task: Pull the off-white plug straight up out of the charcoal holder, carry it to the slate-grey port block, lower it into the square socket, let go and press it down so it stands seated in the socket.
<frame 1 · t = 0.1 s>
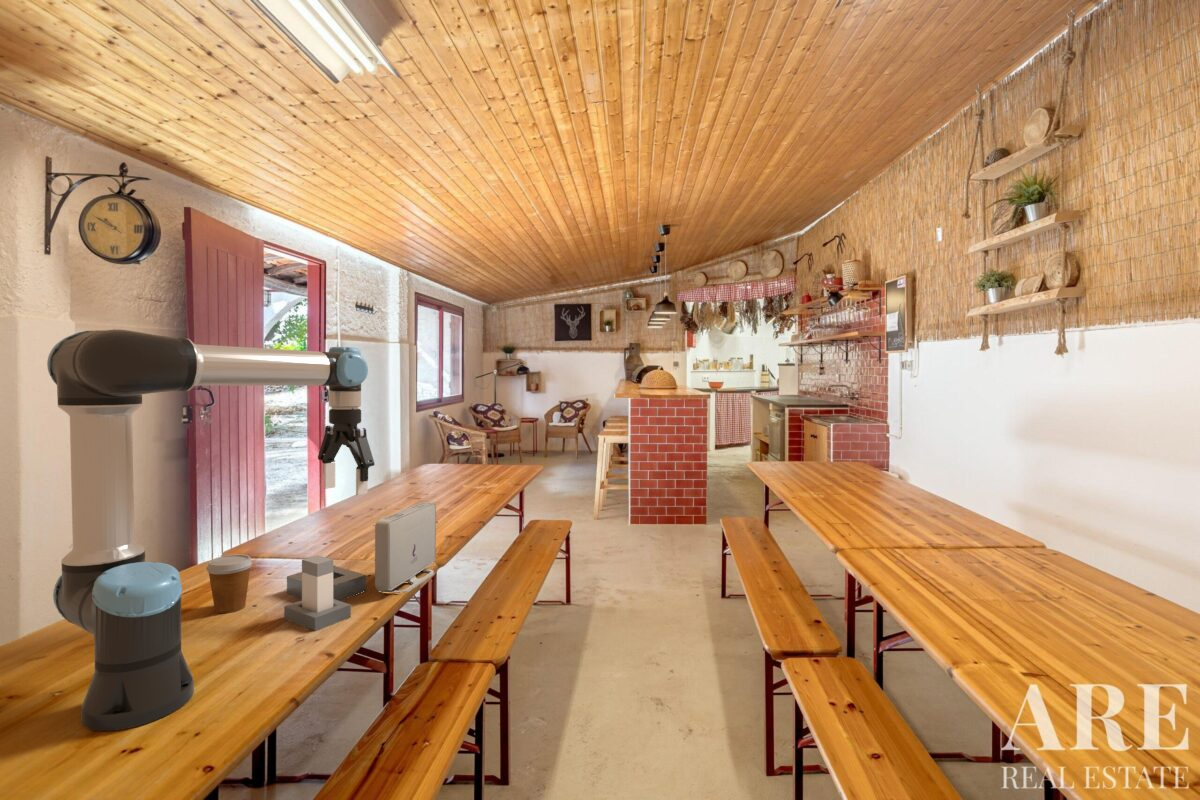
hand: (345, 491, 147), 28 cm above the table, tool pointing down, fingers open, 13 cm apart
holder: (317, 618, 136), on the table
disposable coffee cup: (230, 609, 141), on the table
port block: (326, 592, 152), on the table
network device: (406, 582, 161), on the table
plug: (317, 588, 136), in the holder
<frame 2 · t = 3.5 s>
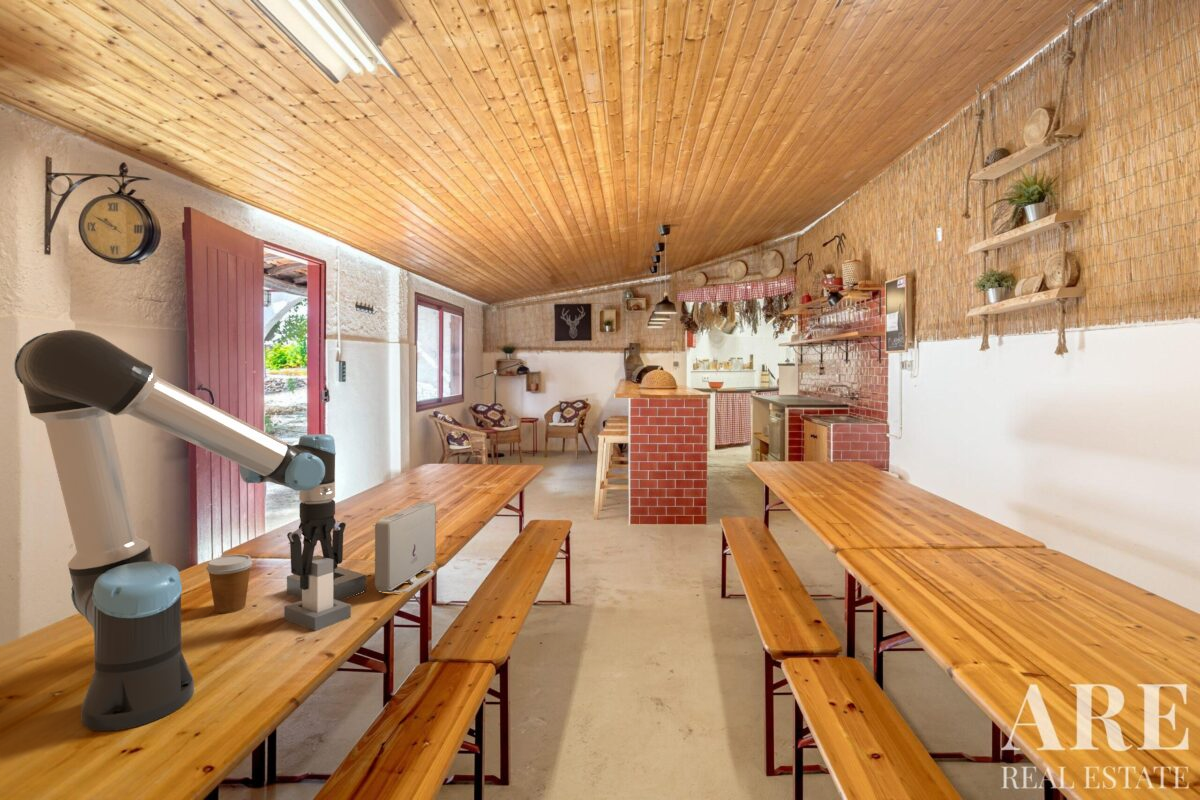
hand: (317, 598, 136), 5 cm above the table, tool pointing down, fingers closed on plug, 4 cm apart
plug: (317, 588, 136), in the holder, touching gripper
everything else where it was.
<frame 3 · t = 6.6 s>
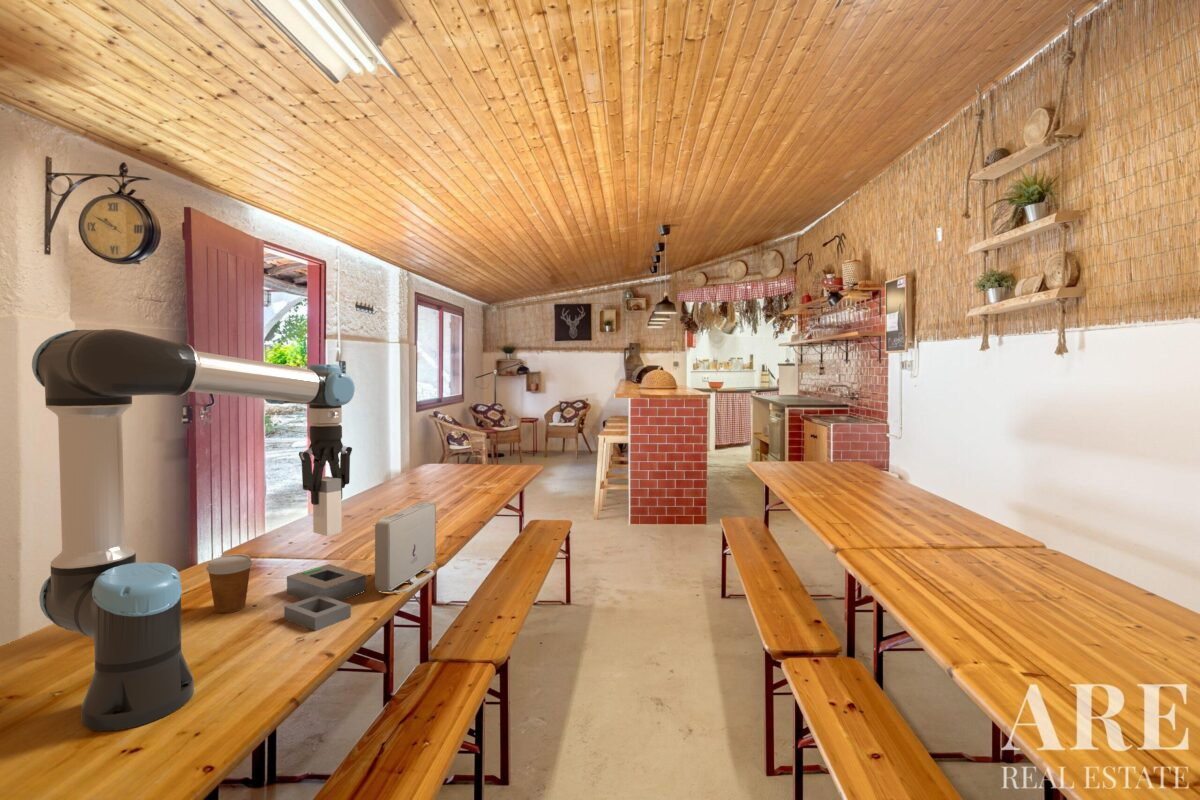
hand: (327, 514, 149), 21 cm above the table, tool pointing down, fingers closed on plug, 4 cm apart
plug: (327, 505, 148), point 24 cm above the table, touching gripper
everything else where it was.
when the fingers open (8 cm above the table, at t = 9.6 s): plug drops 3 cm, resting in port block.
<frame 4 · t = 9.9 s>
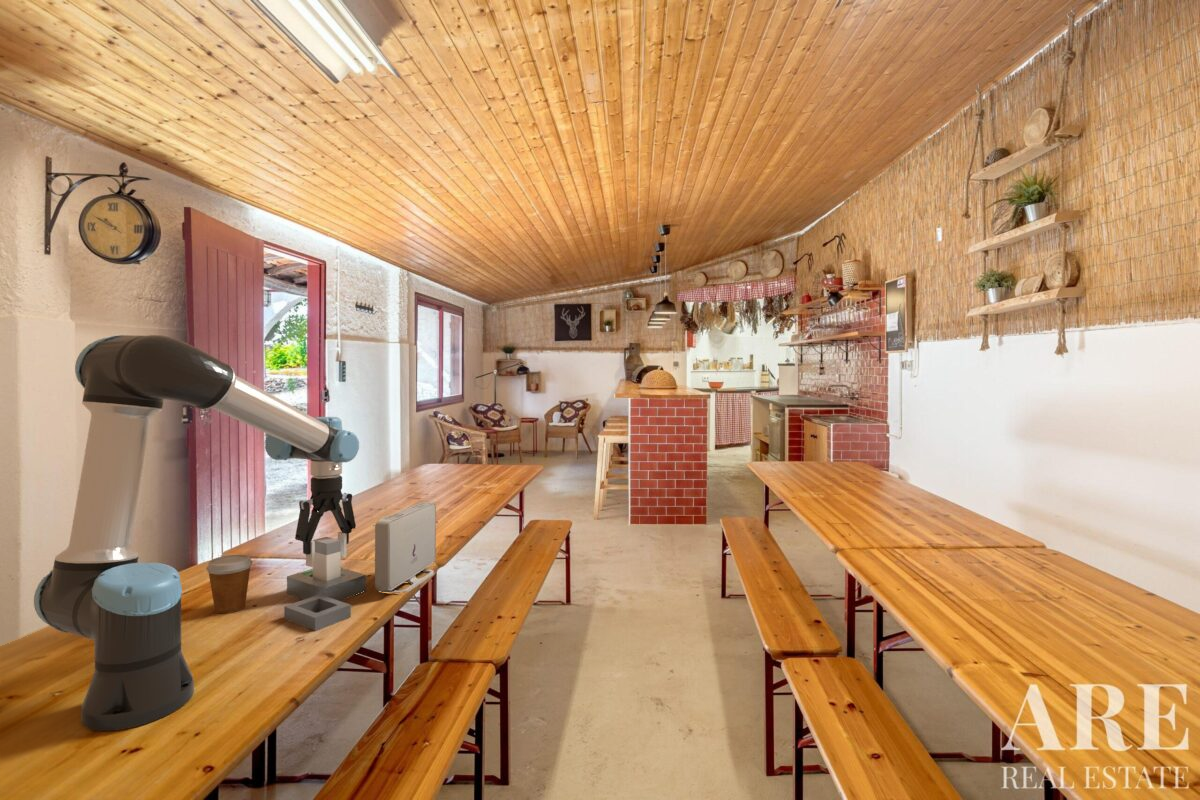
hand: (326, 561, 152), 8 cm above the table, tool pointing down, fingers open, 8 cm apart
plug: (326, 566, 152), in the port block
everything else where it was.
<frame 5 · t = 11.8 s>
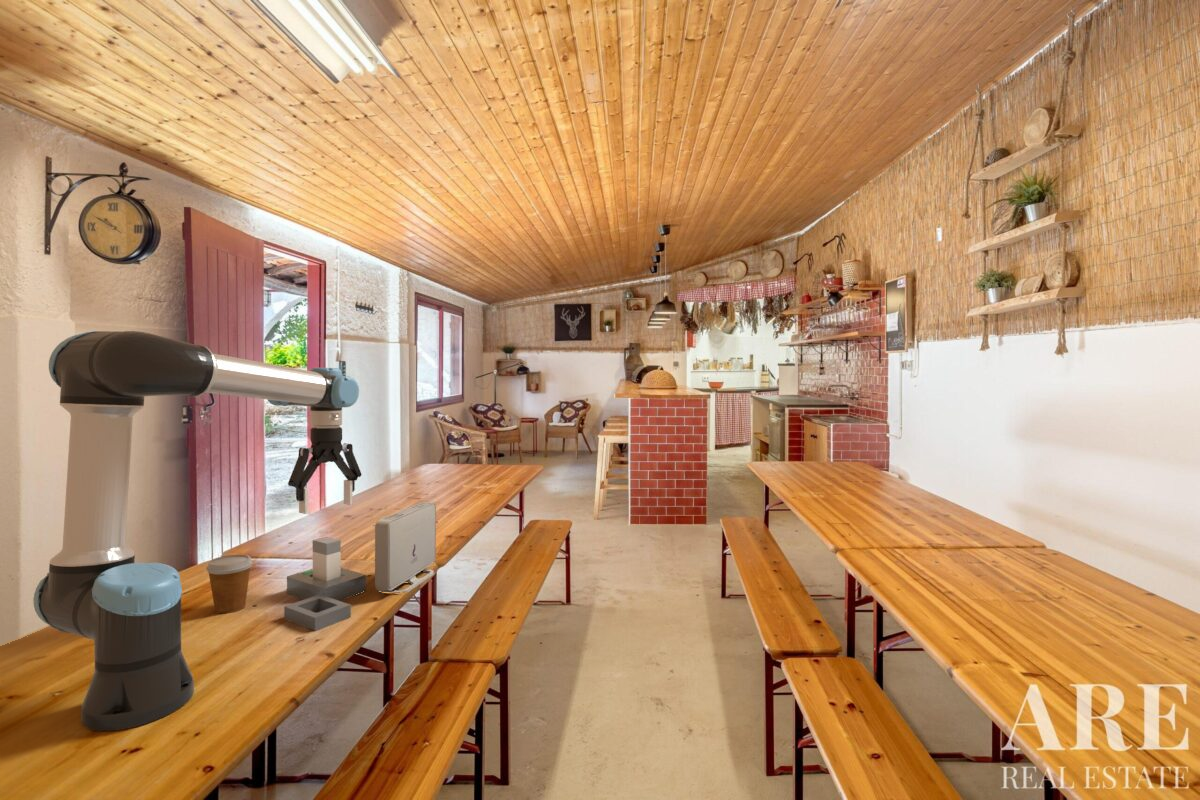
hand: (326, 508, 151), 22 cm above the table, tool pointing down, fingers open, 12 cm apart
nothing on the table moved.
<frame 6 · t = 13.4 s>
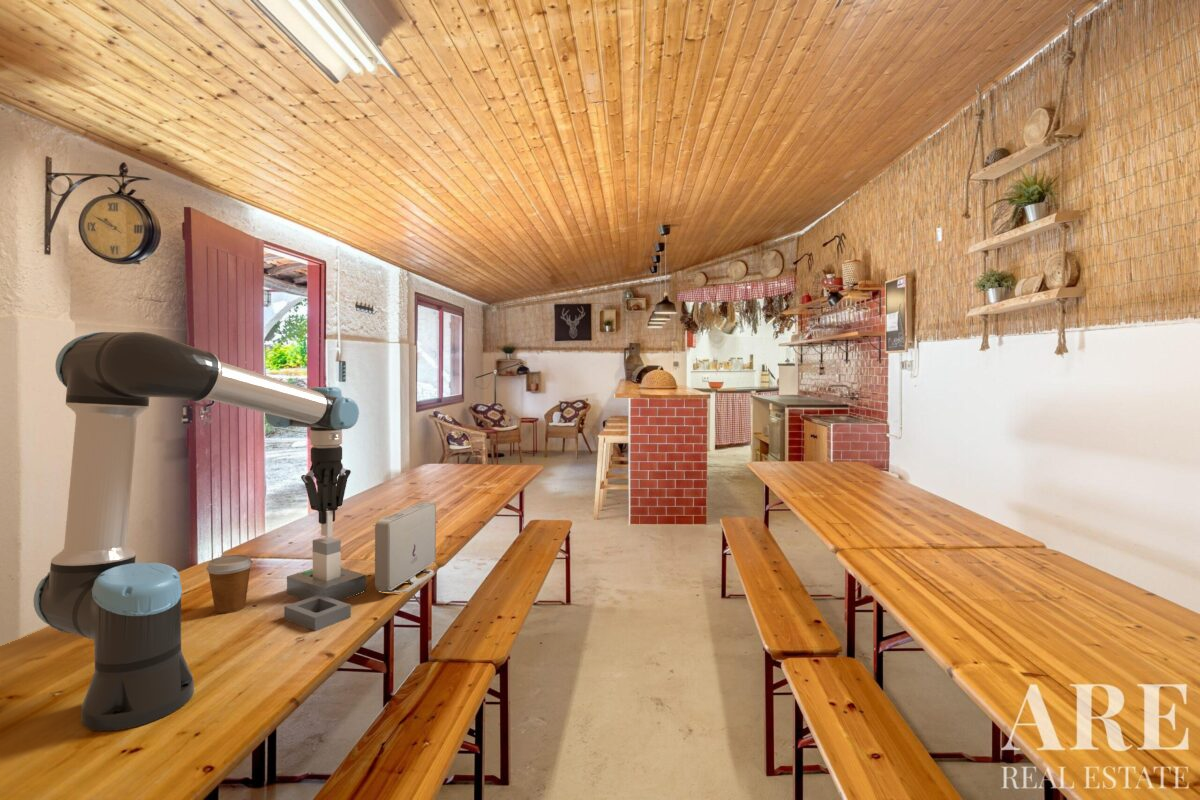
hand: (327, 535, 152), 15 cm above the table, tool pointing down, fingers closed
nothing on the table moved.
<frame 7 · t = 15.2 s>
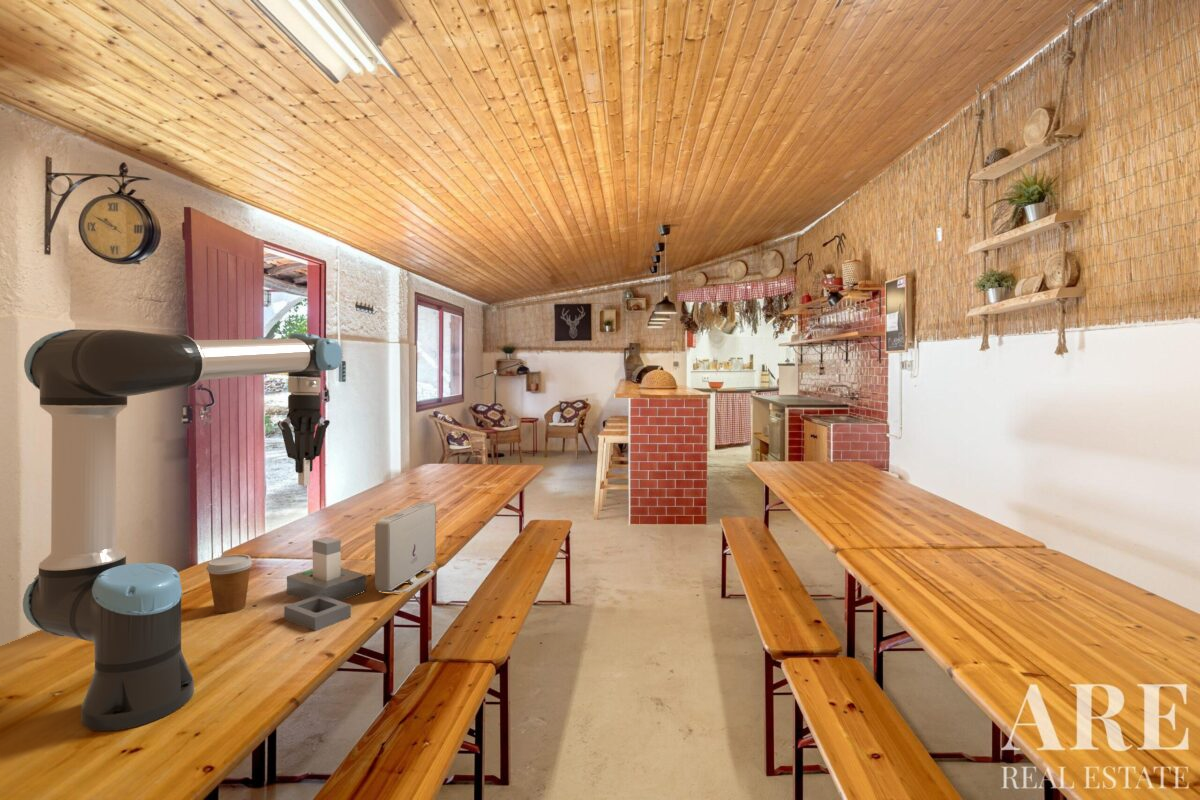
hand: (303, 484, 149), 29 cm above the table, tool pointing down, fingers closed
nothing on the table moved.
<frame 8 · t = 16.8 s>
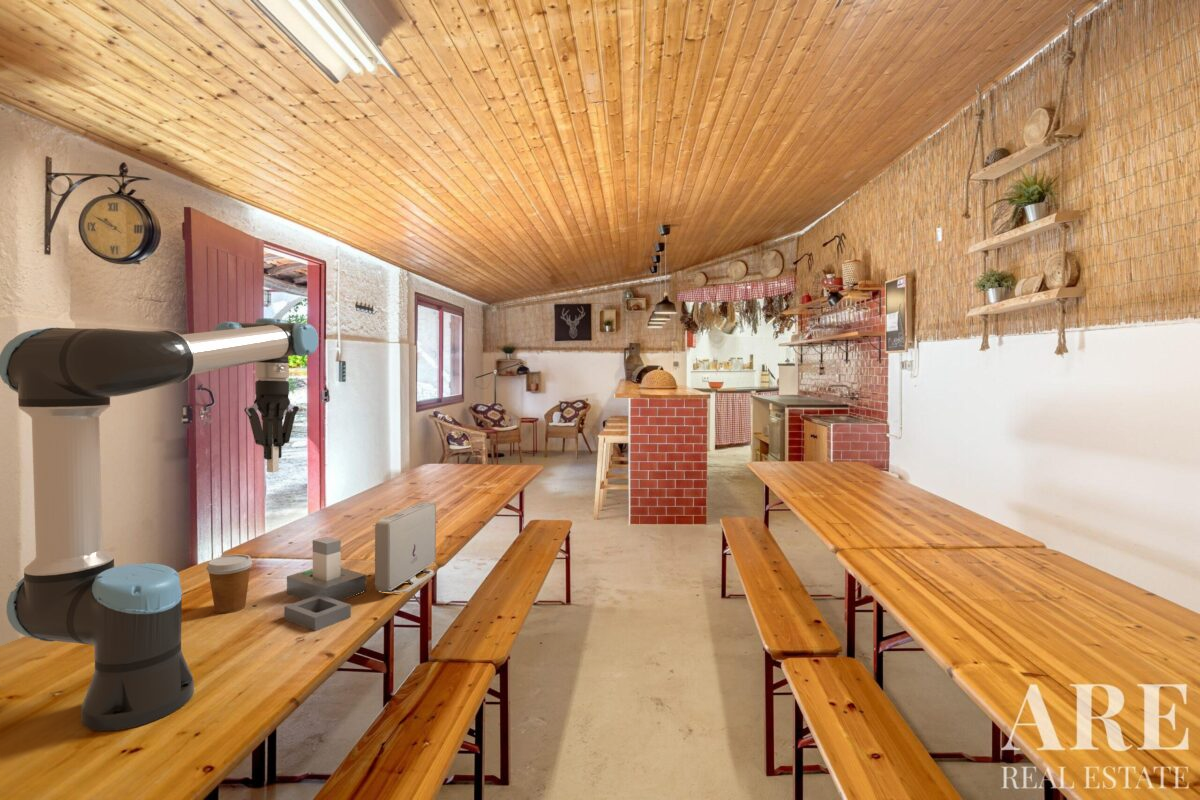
hand: (272, 471, 148), 32 cm above the table, tool pointing down, fingers closed
nothing on the table moved.
at the end: plug 0.0 cm off-centre on the port block, point 7.0 cm above the port block's base; plug tilted 0°; the gripper is holding nothing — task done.
